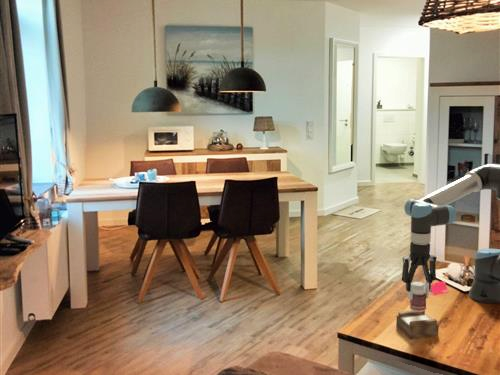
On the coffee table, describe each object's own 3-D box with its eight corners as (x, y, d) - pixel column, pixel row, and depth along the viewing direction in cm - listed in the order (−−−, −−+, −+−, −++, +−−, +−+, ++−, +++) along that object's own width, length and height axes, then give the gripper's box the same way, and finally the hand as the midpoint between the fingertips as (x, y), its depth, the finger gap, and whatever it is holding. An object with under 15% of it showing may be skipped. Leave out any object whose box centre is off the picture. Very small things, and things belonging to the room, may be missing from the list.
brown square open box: (422, 323, 226) (423, 309, 225) (438, 336, 214) (438, 320, 213) (396, 326, 224) (396, 311, 222) (410, 339, 212) (410, 323, 211)
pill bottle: (429, 311, 215) (429, 285, 213) (415, 313, 214) (415, 287, 212) (420, 305, 221) (420, 280, 219) (407, 307, 220) (407, 282, 218)
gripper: (437, 238, 218) (434, 292, 222) (393, 241, 214) (391, 296, 218) (447, 243, 211) (444, 299, 215) (402, 246, 207) (400, 303, 211)
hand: (417, 297), depth 216 cm, fingers closed on pill bottle, 6 cm apart
